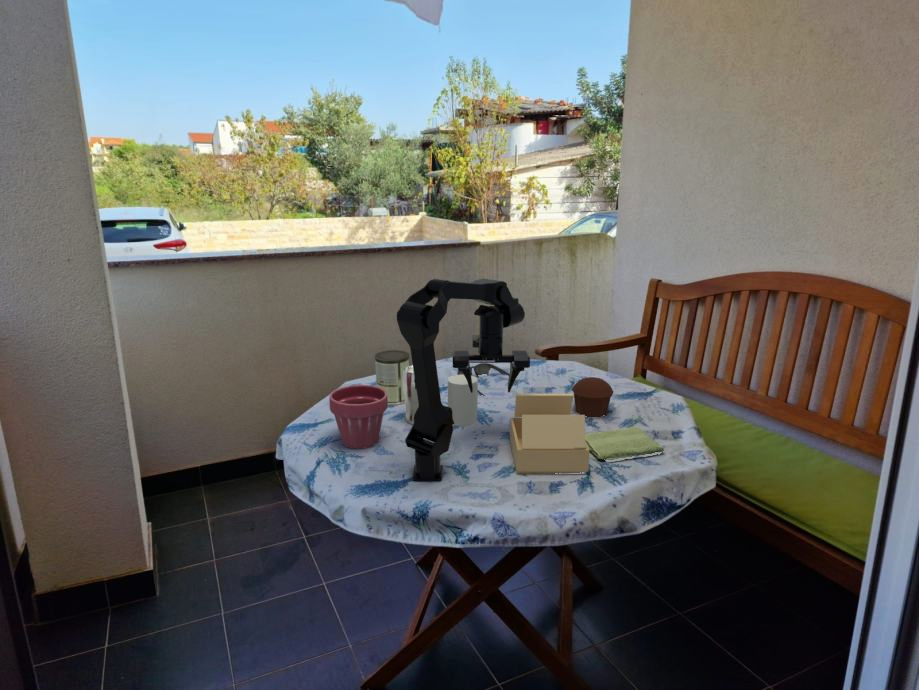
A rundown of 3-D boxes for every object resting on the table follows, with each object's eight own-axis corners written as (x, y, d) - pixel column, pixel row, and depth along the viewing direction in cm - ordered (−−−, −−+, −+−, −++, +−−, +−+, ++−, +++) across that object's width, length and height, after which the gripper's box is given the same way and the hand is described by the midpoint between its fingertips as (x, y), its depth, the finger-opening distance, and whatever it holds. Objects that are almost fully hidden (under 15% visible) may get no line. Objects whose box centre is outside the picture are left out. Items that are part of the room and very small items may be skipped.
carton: (587, 474, 124) (589, 450, 123) (516, 474, 124) (517, 450, 123) (572, 439, 142) (573, 417, 140) (509, 439, 142) (510, 417, 140)
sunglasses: (490, 373, 192) (491, 360, 191) (521, 393, 180) (523, 379, 178) (451, 382, 183) (452, 369, 182) (480, 403, 171) (482, 389, 169)
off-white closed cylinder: (483, 420, 153) (483, 379, 150) (462, 429, 148) (462, 386, 144) (462, 412, 159) (462, 372, 155) (441, 420, 153) (441, 379, 150)
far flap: (573, 395, 135) (573, 393, 136) (516, 395, 135) (516, 393, 136) (570, 417, 139) (569, 415, 140) (514, 417, 139) (514, 415, 140)
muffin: (598, 402, 166) (600, 371, 163) (619, 416, 156) (622, 383, 153) (563, 407, 162) (565, 375, 160) (582, 422, 152) (585, 388, 149)
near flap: (521, 414, 124) (522, 414, 123) (584, 414, 124) (584, 414, 123) (521, 447, 123) (522, 447, 123) (584, 447, 123) (585, 447, 123)
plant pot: (398, 433, 145) (396, 388, 141) (372, 457, 132) (370, 407, 128) (350, 426, 149) (348, 381, 146) (321, 448, 137) (317, 399, 133)
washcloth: (576, 442, 141) (576, 430, 140) (638, 435, 145) (639, 423, 144) (600, 466, 129) (601, 453, 128) (667, 458, 133) (668, 445, 132)
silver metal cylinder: (421, 427, 149) (420, 374, 145) (398, 423, 151) (397, 371, 147) (432, 417, 155) (431, 366, 151) (410, 413, 158) (408, 363, 153)
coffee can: (379, 392, 174) (377, 349, 170) (411, 393, 173) (411, 350, 170) (373, 405, 164) (371, 359, 160) (408, 405, 163) (407, 360, 160)
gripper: (525, 323, 141) (523, 381, 146) (452, 323, 141) (452, 381, 145) (531, 334, 130) (529, 396, 135) (452, 334, 130) (452, 396, 135)
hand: (490, 392), depth 138 cm, fingers open, 9 cm apart
